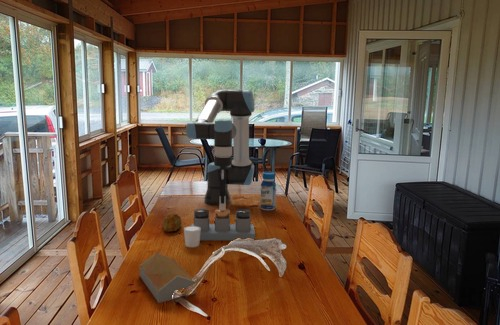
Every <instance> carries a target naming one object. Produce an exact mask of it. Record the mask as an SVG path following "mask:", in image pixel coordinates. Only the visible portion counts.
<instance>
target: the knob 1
mask: <svg viewBox="0 0 500 325" xmlns="http://www.w3.org/2000/svg"><path fill="white" fill-rule="evenodd" d="M193 211H194V212H193V214H194V215H193V218H194V217H195V218H208V217H209V218H210V209H207V208H197V209H194V210H193Z"/></svg>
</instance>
